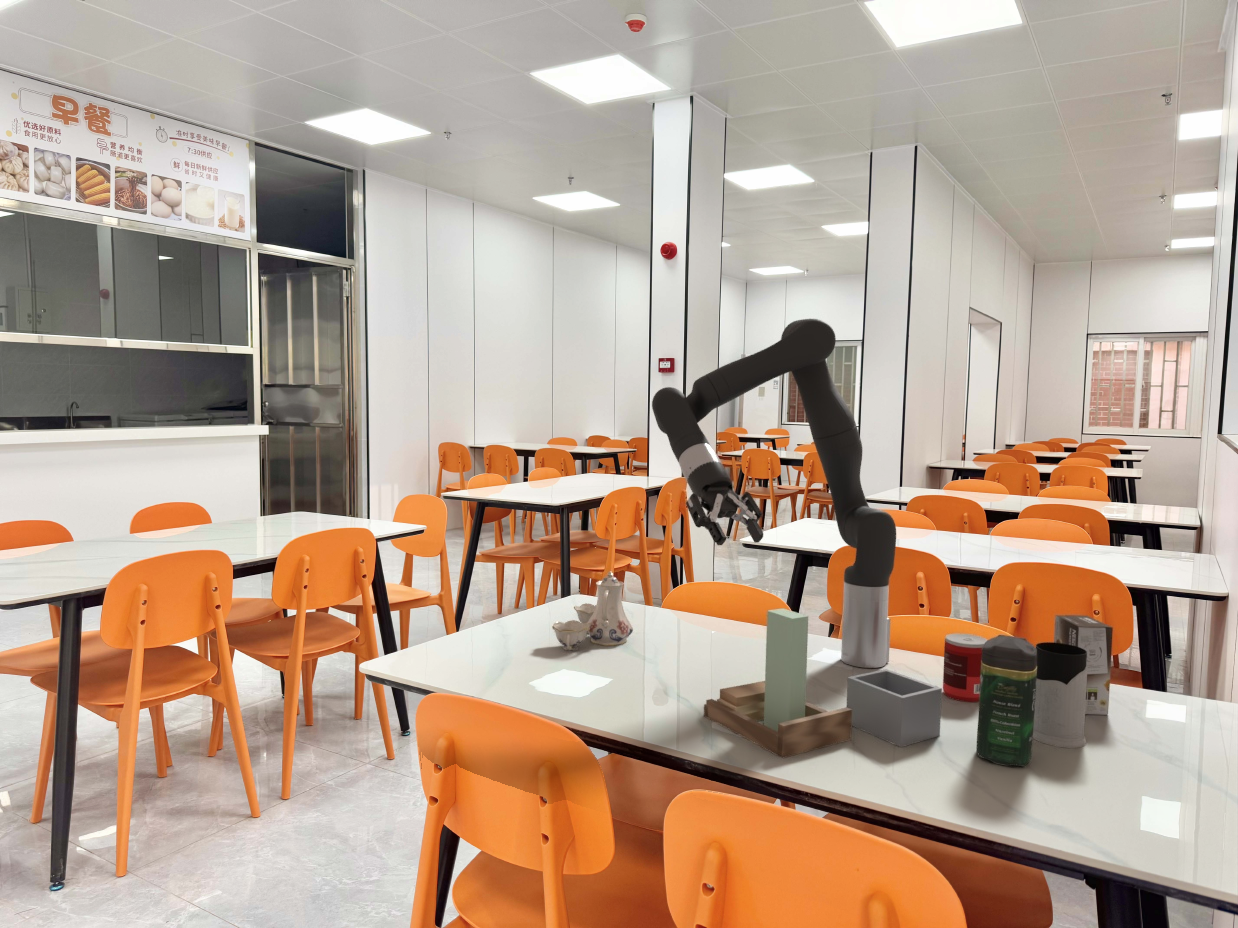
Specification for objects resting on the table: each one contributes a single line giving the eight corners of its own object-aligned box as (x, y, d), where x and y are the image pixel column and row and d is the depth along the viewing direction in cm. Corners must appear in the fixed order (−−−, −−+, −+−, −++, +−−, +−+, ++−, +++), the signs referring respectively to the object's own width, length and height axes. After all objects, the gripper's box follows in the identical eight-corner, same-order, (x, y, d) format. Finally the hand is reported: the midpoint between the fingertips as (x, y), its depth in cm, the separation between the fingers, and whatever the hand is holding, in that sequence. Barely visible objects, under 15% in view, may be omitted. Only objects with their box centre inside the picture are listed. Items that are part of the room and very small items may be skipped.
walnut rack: (768, 701, 151) (769, 674, 151) (850, 739, 134) (851, 709, 134) (703, 715, 144) (704, 687, 143) (782, 757, 126) (783, 726, 126)
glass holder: (1078, 752, 131) (1083, 659, 130) (986, 727, 140) (990, 641, 139) (1092, 736, 137) (1097, 648, 136) (1003, 714, 147) (1007, 631, 146)
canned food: (986, 692, 159) (989, 636, 158) (985, 705, 151) (988, 646, 151) (943, 685, 162) (946, 630, 161) (941, 698, 155) (943, 640, 154)
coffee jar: (1030, 772, 123) (1036, 650, 122) (973, 760, 127) (978, 642, 125) (1034, 750, 131) (1040, 635, 130) (980, 739, 135) (985, 628, 134)
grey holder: (884, 713, 146) (886, 668, 146) (939, 735, 136) (941, 688, 136) (845, 722, 141) (847, 677, 141) (900, 746, 131) (902, 697, 131)
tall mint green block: (779, 723, 140) (783, 608, 139) (804, 735, 135) (808, 616, 134) (763, 727, 139) (767, 610, 137) (788, 739, 133) (792, 618, 132)
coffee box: (1110, 715, 147) (1115, 627, 146) (1074, 714, 147) (1078, 626, 146) (1083, 697, 156) (1087, 614, 155) (1049, 696, 157) (1053, 613, 156)
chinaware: (575, 628, 206) (569, 563, 205) (640, 625, 203) (635, 559, 202) (549, 662, 178) (543, 586, 177) (625, 659, 176) (619, 582, 175)
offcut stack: (766, 704, 149) (767, 678, 149) (786, 714, 145) (787, 687, 144) (715, 716, 143) (715, 689, 143) (734, 726, 139) (735, 698, 138)
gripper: (682, 460, 151) (719, 530, 142) (743, 459, 158) (781, 526, 149) (665, 486, 156) (700, 556, 147) (724, 484, 163) (761, 550, 154)
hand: (741, 541), depth 148 cm, fingers open, 8 cm apart
